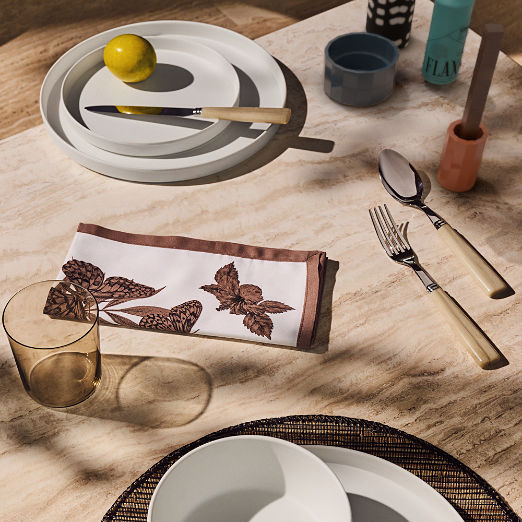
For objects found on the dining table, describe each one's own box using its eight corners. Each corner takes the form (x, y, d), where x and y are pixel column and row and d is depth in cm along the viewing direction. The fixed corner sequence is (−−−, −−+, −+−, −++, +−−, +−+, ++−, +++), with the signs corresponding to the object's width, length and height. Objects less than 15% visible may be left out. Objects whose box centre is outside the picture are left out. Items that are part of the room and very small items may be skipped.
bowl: (388, 66, 122) (393, 30, 116) (398, 107, 114) (404, 71, 108) (320, 68, 122) (322, 33, 116) (325, 110, 114) (327, 74, 108)
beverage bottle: (415, 88, 117) (434, -25, 102) (423, 68, 121) (443, -44, 106) (453, 96, 115) (478, -18, 100) (460, 75, 119) (486, -38, 104)
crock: (470, 166, 104) (483, 118, 97) (478, 191, 100) (493, 143, 93) (433, 167, 104) (444, 119, 97) (440, 192, 100) (452, 144, 93)
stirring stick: (462, 170, 102) (501, 23, 84) (465, 179, 101) (505, 32, 83) (448, 171, 102) (484, 23, 84) (451, 180, 101) (488, 32, 83)
